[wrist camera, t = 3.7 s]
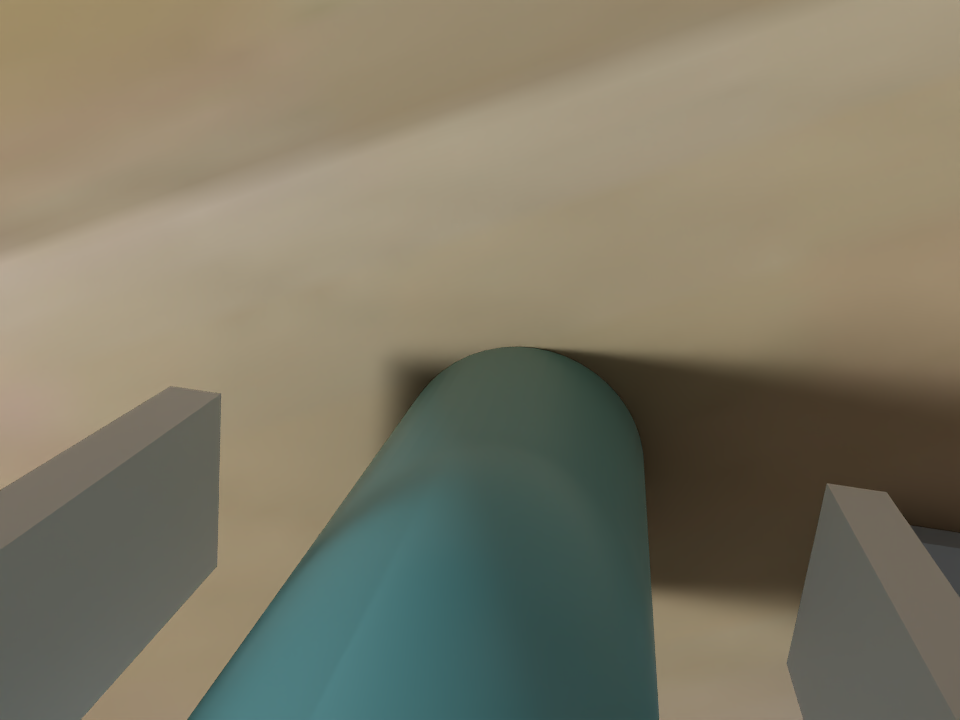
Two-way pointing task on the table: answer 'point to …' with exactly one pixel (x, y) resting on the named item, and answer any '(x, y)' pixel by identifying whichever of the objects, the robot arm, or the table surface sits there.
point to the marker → (471, 566)
